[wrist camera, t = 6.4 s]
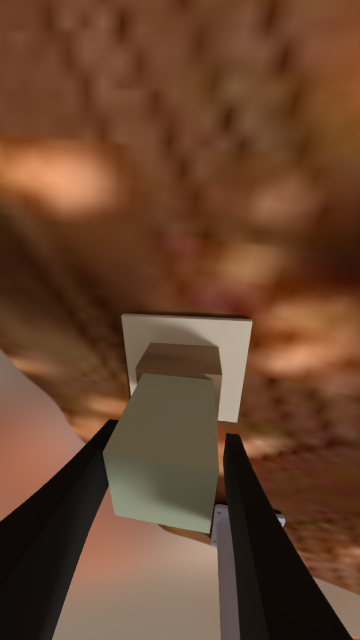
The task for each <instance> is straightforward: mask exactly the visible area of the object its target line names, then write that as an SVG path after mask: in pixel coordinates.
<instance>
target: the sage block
mask: <svg viewBox="0 0 360 640" xmlns="http://www.w3.org/2000/svg"><path fill="white" fill-rule="evenodd" d="M103 457H104V462H105V467H106V472H107V477H108V482H109V487H110V492H111V497H112V502H113V507H114V512H115V515H117V516H122V517H127V518H132V519H137V520H142V521H147V522H152V523H157V524H162V525H167V526H172V527H177V528H182V529H187V530H193V531H198V532H203V533H208V534H209V533H210V527H211V520H212V514H213V507H214V500H215V494H216V487H217V481H218V474H219V463H218V446H217V430H216V413H215V397H214V380H206V379H196V378H187V377H177V376H167V375H157V374H147V373H143V374H142V376H141V378H140V380H139V382H138V384H137V386H136V388H135V390H134V392H133V394H132V396H131V398H130V400H129V402H128V404H127V406H126V408H125V410H124V412H123V414H122V416H121V417H120V419H119V421H118V423H117V425H116V427H115V429H114V431H113V433H112V435H111V437H110V439H109V441H108V443H107V445H106V447H105V449H104V451H103Z"/></svg>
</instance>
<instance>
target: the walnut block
mask: <svg viewBox="0 0 360 640" xmlns="http://www.w3.org/2000/svg"><path fill="white" fill-rule="evenodd" d="M135 371H136V380H137V384H138V382H139V380H140V378H141V376H142V374H143V373H147V374H157V375H167V376H177V377H187V378H196V379H206V380H214V397H215V413H216V430H217V423H218V413H219V403H220V394H221V384H222V369H221V361H220V354H219V347H213V346H198V345H182V344H166V343H151V342H150V344H149V346H148V347H147V349H146V351H145V353H144V354H143V356H142V358H141V359H140V361H139V363H138V364H137V366H136V368H135Z"/></svg>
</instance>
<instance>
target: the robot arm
mask: <svg viewBox="0 0 360 640" xmlns="http://www.w3.org/2000/svg"><path fill="white" fill-rule="evenodd" d="M118 421H119V420H112V419H110V420H108V421H107V422H106V424H105V425H104V426H103V427H102V428H101V429H100V430H99V431H98V432H97V433H96V434H95V435H94V436H93V438H92V439H91V440H90V441H89V442H88V443H87V444H86V445H85V446H84V447H83V448H82V449H81V450H80V451H79V452H78V453H77V454H76V455H75V456H74V457H73V458H72V459H71V460H70V461H69V462H68V463H67V464H66V465H65V466H64V467H63V468H62V469H61V470H60V471H59V472H58V473H57V474H56V475H55V476H53V477H52V478H51V479H50V480H49V481H48V482H47V483H46V484H45V485H43V486H42V487H41V488H40V489H39V490H38V491H37V492H36V493H34V494H33V495H32V496H31V497H30V498H29V499H27V500H26V501H25V502H24V503H23V504H21V505H20V506H19V507H18V508H16V509H15V510H14V511H13V512H12V513H11V514H9V515H8V516H7V517H6V518H4V519H3V520H2V521H0V640H52V637H53V634H54V631H55V628H56V625H57V622H58V619H59V616H60V613H61V610H62V607H63V604H64V601H65V598H66V595H67V592H68V589H69V586H70V583H71V580H72V577H73V575H74V572H75V569H76V566H77V563H78V560H79V557H80V555H81V552H82V549H83V546H84V544H85V541H86V538H87V535H88V532H89V530H90V528H91V525H92V523H93V520H94V518H95V516H96V513H97V511H98V509H99V507H100V504H101V502H102V500H103V497H104V495H105V493H106V490H107V488H108V486H109V482H108V477H107V472H106V467H105V462H104V457H103V451H104V449H105V447H106V445H107V443H108V441H109V439H110V437H111V435H112V433H113V431H114V429H115V427H116V425H117V423H118ZM223 467H224V484H225V491H226V499H227V505H222V504H216V505H215V511H214V519H213V527H212V535H211V545H212V546H214V547H217V550H218V578H219V602H220V625H221V626H220V628H221V640H353V639H352V637H351V636H350V635H349V633H348V631H347V630H346V628H345V627H344V625H343V624H342V622H341V621H340V619H339V618H338V616H337V615H336V613H335V611H334V610H333V608H332V607H331V605H330V604H329V602H328V601H327V599H326V598H325V596H324V594H323V593H322V591H321V590H320V588H319V587H318V585H317V584H316V582H315V580H314V579H313V577H312V576H311V574H310V572H309V571H308V569H307V567H306V566H305V564H304V563H303V561H302V559H301V558H300V556H299V554H298V553H297V551H296V549H295V547H294V546H293V544H292V542H291V541H290V539H289V537H288V535H287V534H286V532H285V530H284V528H283V526H284V523H285V518H284V516H283V515H281V514H276V513H275V512H274V510H273V508H272V506H271V504H270V502H269V501H268V499H267V497H266V495H265V493H264V491H263V489H262V487H261V484H260V482H259V480H258V478H257V476H256V474H255V472H254V470H253V468H252V465H251V463H250V461H249V458H248V456H247V454H246V451H245V449H244V446H243V443H242V441H241V438H240V436H239V435H238V434H229V433H226V440H225V448H224V456H223Z"/></svg>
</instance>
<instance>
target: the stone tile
mask: <svg viewBox="0 0 360 640" xmlns="http://www.w3.org/2000/svg"><path fill="white" fill-rule="evenodd" d="M121 318H122V326H123V334H124V342H125V350H126V358H127V366H128V375H129V383H130V391H131V396H132V394H133V392H134V390H135V388H136V386H137V380H136V371H135V368H136V366H137V364H138V363H139V361H140V359H141V358H142V356H143V354H144V353H145V351H146V349H147V347H148V346H149V344H150V342H151V343H166V344H182V345H198V346H213V347H219V354H220V361H221V369H222V384H221V394H220V403H219V413H218V420H220V421H229V422H237V419H238V413H239V406H240V400H241V393H242V387H243V380H244V373H245V367H246V360H247V354H248V347H249V341H250V334H251V328H252V320H251V319H237V318H214V317H192V316H169V315H146V314H123V315H121Z"/></svg>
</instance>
